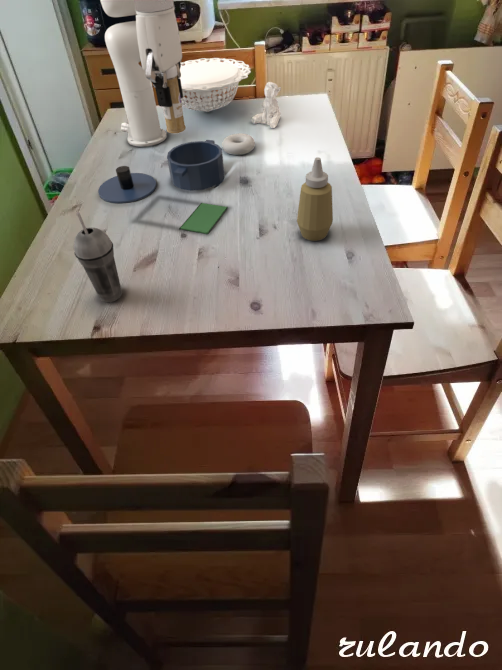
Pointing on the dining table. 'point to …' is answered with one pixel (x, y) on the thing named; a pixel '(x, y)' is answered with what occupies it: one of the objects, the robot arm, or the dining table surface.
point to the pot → (196, 165)
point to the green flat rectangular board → (203, 218)
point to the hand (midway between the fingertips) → (171, 101)
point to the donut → (238, 144)
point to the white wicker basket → (210, 82)
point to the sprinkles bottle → (173, 103)
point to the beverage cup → (98, 261)
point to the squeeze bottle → (315, 204)
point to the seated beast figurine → (269, 107)
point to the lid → (127, 186)
